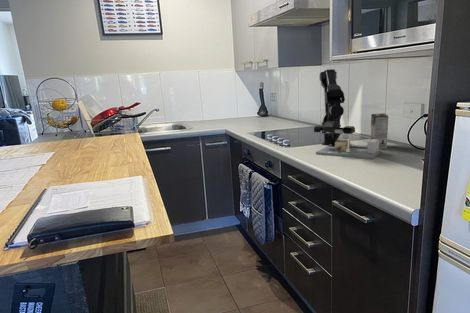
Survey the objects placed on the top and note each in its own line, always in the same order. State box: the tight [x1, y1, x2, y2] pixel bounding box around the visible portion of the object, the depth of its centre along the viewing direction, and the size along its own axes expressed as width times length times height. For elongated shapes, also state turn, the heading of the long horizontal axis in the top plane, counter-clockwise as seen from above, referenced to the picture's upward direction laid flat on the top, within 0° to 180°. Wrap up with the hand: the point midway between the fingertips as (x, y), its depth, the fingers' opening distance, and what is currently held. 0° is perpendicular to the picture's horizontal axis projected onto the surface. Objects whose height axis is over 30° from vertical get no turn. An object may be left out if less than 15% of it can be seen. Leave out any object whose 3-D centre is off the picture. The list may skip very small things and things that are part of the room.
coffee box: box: [370, 112, 389, 150], centre depth 164 cm, size 9×6×16 cm
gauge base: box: [315, 139, 382, 160], centre depth 157 cm, size 15×26×6 cm, turn 53°
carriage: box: [335, 138, 351, 151], centre depth 159 cm, size 12×5×4 cm, turn 143°
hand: (333, 146), depth 163 cm, fingers closed
